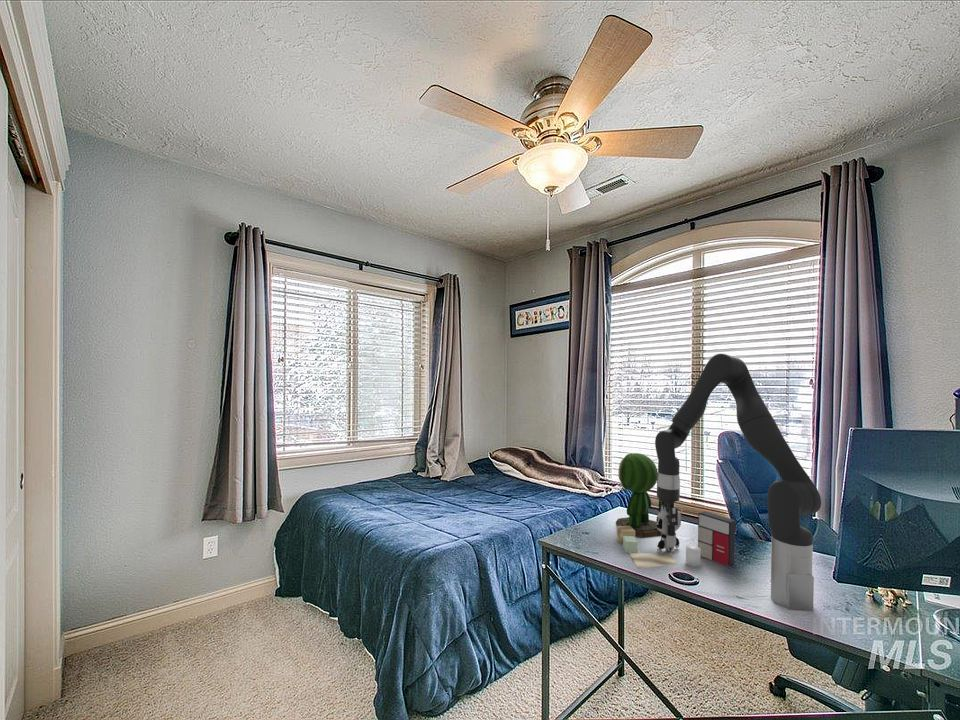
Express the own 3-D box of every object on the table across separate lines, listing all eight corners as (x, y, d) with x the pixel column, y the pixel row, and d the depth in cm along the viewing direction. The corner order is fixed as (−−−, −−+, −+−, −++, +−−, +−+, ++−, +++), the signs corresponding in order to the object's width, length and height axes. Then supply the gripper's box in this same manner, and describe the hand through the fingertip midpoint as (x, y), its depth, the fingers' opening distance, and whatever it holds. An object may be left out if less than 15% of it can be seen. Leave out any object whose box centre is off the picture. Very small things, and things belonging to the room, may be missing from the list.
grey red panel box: (696, 556, 154) (696, 512, 154) (703, 553, 156) (703, 510, 156) (728, 568, 145) (729, 522, 145) (735, 565, 147) (736, 520, 147)
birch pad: (683, 572, 142) (683, 571, 142) (637, 569, 143) (637, 568, 143) (671, 556, 154) (671, 554, 154) (629, 553, 155) (629, 552, 155)
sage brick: (637, 553, 156) (637, 542, 156) (625, 552, 156) (626, 541, 156) (634, 547, 161) (634, 536, 161) (622, 546, 161) (623, 535, 161)
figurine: (625, 516, 192) (626, 447, 191) (672, 529, 178) (673, 454, 178) (606, 527, 179) (606, 453, 179) (654, 541, 165) (655, 461, 165)
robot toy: (673, 544, 163) (673, 504, 163) (683, 549, 159) (684, 507, 159) (650, 551, 157) (650, 509, 157) (660, 556, 153) (661, 513, 153)
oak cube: (635, 544, 163) (635, 531, 163) (621, 544, 163) (622, 531, 163) (629, 539, 168) (629, 525, 168) (616, 539, 168) (617, 526, 168)
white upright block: (702, 569, 144) (702, 551, 144) (688, 568, 145) (688, 550, 145) (697, 563, 149) (697, 545, 149) (683, 562, 149) (684, 544, 149)
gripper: (686, 492, 151) (685, 539, 151) (673, 480, 165) (672, 523, 165) (663, 491, 152) (662, 538, 152) (652, 479, 166) (651, 522, 166)
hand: (667, 530), depth 158 cm, fingers open, 8 cm apart
